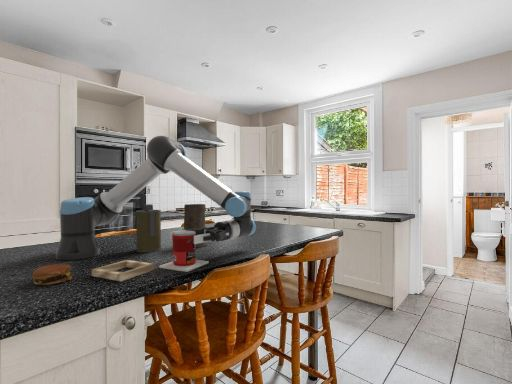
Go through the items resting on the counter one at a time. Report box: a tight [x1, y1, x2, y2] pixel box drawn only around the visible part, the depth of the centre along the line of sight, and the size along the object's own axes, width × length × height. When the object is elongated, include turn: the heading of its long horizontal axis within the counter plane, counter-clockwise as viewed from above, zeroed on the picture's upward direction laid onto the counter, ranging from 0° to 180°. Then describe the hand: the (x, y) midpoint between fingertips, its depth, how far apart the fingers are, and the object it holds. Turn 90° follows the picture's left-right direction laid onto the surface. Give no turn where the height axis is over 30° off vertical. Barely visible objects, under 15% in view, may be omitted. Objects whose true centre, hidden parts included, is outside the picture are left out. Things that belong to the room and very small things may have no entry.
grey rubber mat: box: [158, 259, 209, 273], centre depth 100 cm, size 12×12×1 cm
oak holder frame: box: [91, 259, 155, 282], centre depth 91 cm, size 13×13×2 cm
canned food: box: [172, 230, 197, 266], centre depth 100 cm, size 8×8×11 cm
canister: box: [135, 203, 162, 253], centre depth 125 cm, size 11×10×20 cm
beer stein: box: [183, 203, 208, 249], centre depth 136 cm, size 15×11×20 cm
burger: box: [32, 263, 73, 286], centre depth 83 cm, size 10×9×5 cm
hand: (181, 237), depth 98 cm, fingers open, 13 cm apart
